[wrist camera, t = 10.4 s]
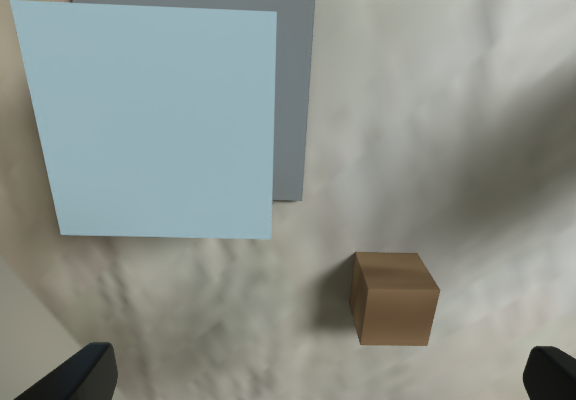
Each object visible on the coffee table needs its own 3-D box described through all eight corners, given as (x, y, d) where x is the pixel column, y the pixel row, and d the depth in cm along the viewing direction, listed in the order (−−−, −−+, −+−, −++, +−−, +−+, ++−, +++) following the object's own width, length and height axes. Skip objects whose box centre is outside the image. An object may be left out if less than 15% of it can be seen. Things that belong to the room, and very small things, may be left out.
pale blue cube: (272, 169, 20) (271, 239, 13) (132, 165, 19) (61, 234, 13) (276, 17, 17) (276, 11, 10) (113, 10, 16) (9, 0, 10)
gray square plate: (301, 196, 21) (301, 200, 20) (106, 190, 20) (102, 194, 20) (315, -21, 17) (316, -23, 16) (72, -35, 16) (66, -37, 16)
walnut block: (406, 302, 24) (427, 345, 21) (348, 302, 24) (360, 345, 20) (416, 252, 22) (440, 290, 19) (355, 251, 22) (368, 289, 19)
